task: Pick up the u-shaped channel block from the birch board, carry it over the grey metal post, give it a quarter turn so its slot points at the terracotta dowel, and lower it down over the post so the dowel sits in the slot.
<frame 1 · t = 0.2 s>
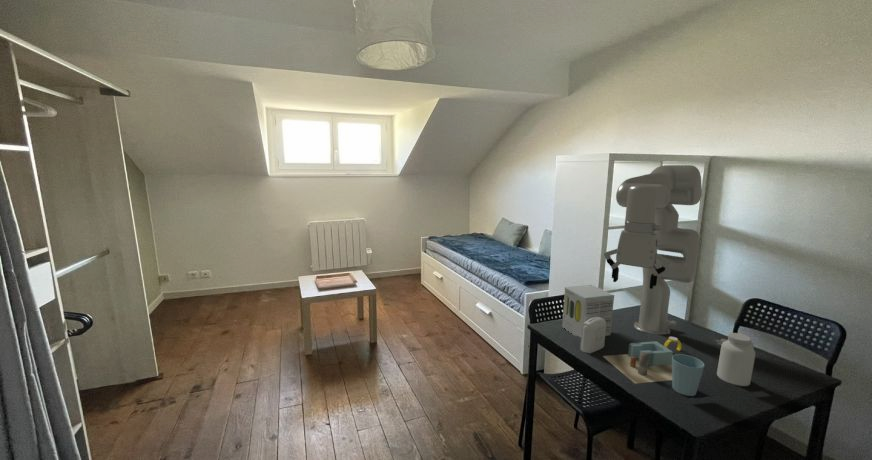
hand: (633, 284, 107), 30 cm above the table, tool pointing down, fingers open, 9 cm apart
power adapter: (730, 354, 127), on the table
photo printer: (591, 351, 128), on the table
pill bottle: (732, 382, 110), on the table
u-shaped channel block: (651, 359, 120), point 1 cm above the table, touching board
cup: (683, 394, 104), on the table
supplement box: (585, 332, 143), on the table
board: (645, 369, 116), on the table
watch: (671, 354, 127), on the table
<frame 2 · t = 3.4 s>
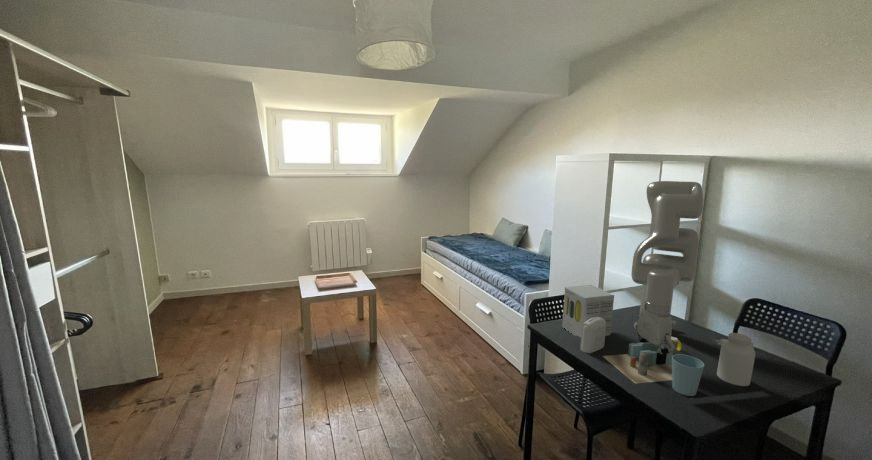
hand: (651, 357, 120), 2 cm above the table, tool pointing down, fingers closed on u-shaped channel block, 7 cm apart
u-shaped channel block: (651, 359, 120), point 1 cm above the table, touching board, gripper
everything else where it was.
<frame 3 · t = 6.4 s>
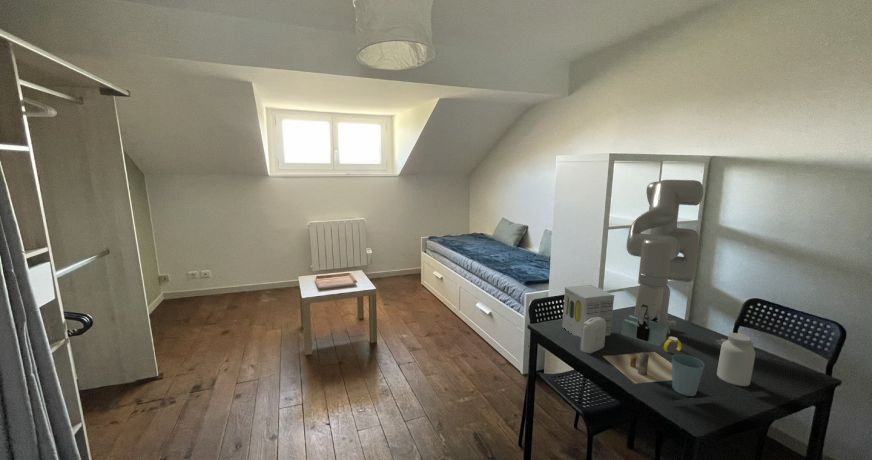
hand: (646, 335, 110), 14 cm above the table, tool pointing down, fingers closed on u-shaped channel block, 7 cm apart
u-shaped channel block: (646, 337, 110), point 13 cm above the table, touching gripper
everything else where it was.
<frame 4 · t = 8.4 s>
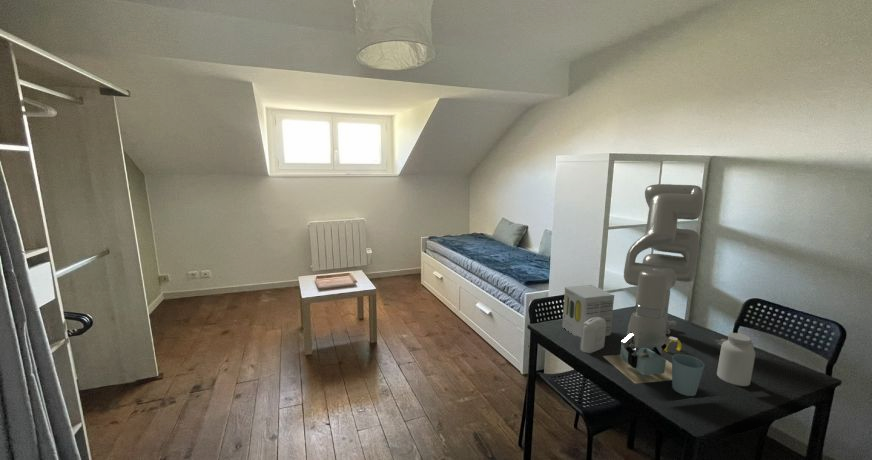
hand: (643, 364, 111), 4 cm above the table, tool pointing down, fingers closed on u-shaped channel block, 7 cm apart
u-shaped channel block: (642, 366, 112), point 4 cm above the table, touching gripper
everything else where it was.
when the fingers open (3 cm above the table, at t = 9.7 s): u-shaped channel block drops 1 cm, resting on board.
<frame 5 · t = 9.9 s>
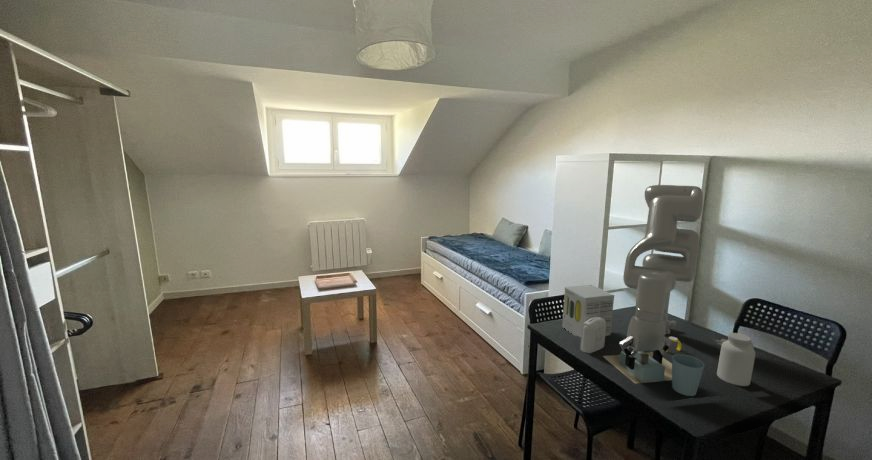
hand: (643, 366, 112), 4 cm above the table, tool pointing down, fingers open, 9 cm apart
u-shaped channel block: (642, 373, 112), point 1 cm above the table, touching board
everything else where it was.
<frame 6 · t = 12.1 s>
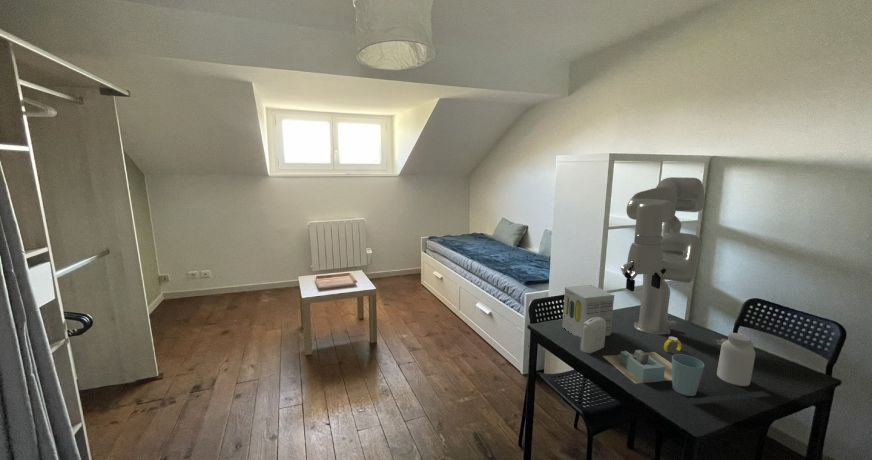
hand: (642, 288, 121), 24 cm above the table, tool pointing down, fingers open, 9 cm apart
nothing on the table moved.
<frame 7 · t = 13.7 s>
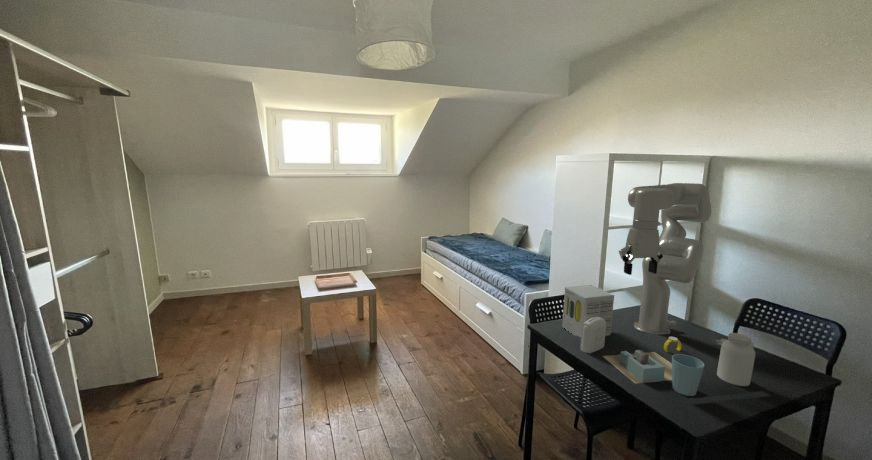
hand: (639, 273, 126), 28 cm above the table, tool pointing down, fingers open, 9 cm apart
nothing on the table moved.
at the end: u-shaped channel block 0.1 cm from the target spot, point 1.2 cm above the table; u-shaped channel block tilted 0°; the gripper is holding nothing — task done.
